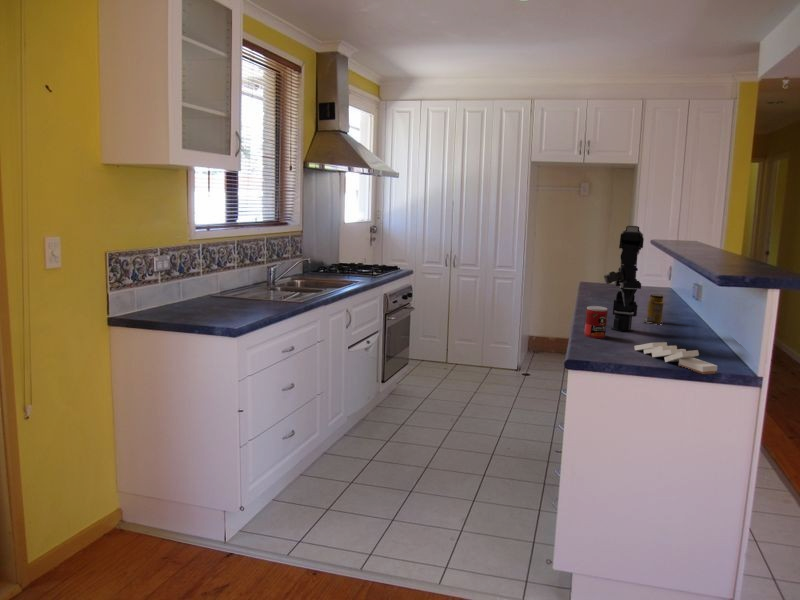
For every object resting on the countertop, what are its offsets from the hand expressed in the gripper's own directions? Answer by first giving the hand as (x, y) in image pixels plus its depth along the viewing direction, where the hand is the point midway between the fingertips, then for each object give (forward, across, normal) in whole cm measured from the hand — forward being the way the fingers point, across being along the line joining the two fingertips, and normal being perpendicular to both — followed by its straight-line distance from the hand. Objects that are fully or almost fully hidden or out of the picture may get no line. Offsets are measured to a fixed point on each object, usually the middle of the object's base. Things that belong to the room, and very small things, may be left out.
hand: (625, 306), depth 247 cm
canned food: (+12, -3, -10) cm, 16 cm away
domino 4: (+14, +31, +10) cm, 35 cm away
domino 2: (+14, +20, +5) cm, 25 cm away
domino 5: (+14, +35, +13) cm, 40 cm away
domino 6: (+16, +34, +13) cm, 39 cm away
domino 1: (+13, +16, +3) cm, 21 cm away
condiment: (+9, -42, +20) cm, 47 cm away
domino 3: (+14, +25, +7) cm, 29 cm away
